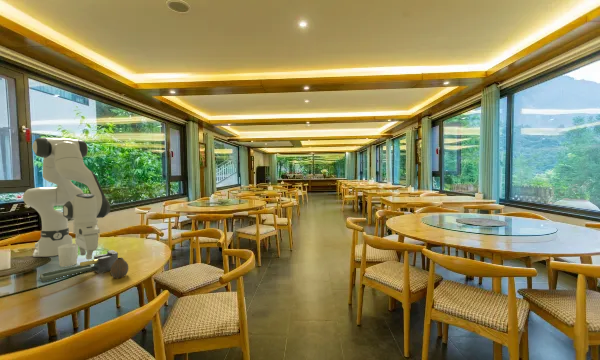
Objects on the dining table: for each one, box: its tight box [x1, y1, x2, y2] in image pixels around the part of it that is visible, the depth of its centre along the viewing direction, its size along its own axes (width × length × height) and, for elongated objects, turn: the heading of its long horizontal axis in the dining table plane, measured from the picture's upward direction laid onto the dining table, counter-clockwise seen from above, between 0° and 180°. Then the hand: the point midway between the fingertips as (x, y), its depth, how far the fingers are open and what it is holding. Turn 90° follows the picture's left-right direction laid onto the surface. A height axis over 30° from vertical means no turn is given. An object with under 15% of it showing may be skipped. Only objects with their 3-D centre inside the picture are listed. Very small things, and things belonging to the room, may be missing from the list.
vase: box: [110, 257, 129, 279], centre depth 122 cm, size 7×7×9 cm
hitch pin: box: [79, 259, 97, 267], centre depth 128 cm, size 14×2×2 cm, turn 143°
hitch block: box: [93, 249, 119, 274], centre depth 131 cm, size 7×8×8 cm
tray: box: [38, 264, 95, 283], centre depth 124 cm, size 7×18×2 cm, turn 143°
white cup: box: [57, 243, 79, 268], centre depth 136 cm, size 8×8×10 cm
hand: (85, 257), depth 124 cm, fingers open, 8 cm apart
